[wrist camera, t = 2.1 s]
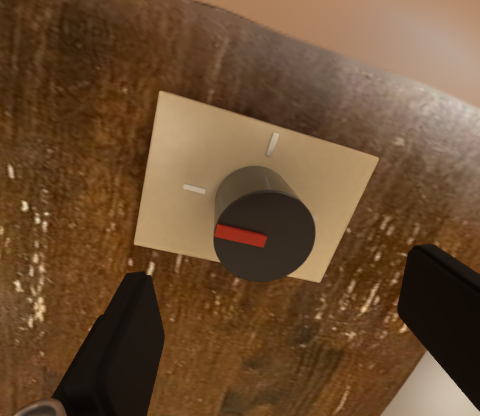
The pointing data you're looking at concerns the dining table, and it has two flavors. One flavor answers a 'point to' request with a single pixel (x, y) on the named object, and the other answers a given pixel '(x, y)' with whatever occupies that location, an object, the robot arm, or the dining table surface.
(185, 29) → the dining table surface
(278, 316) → the dining table surface
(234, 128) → the panel
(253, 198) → the knob
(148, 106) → the dining table surface
